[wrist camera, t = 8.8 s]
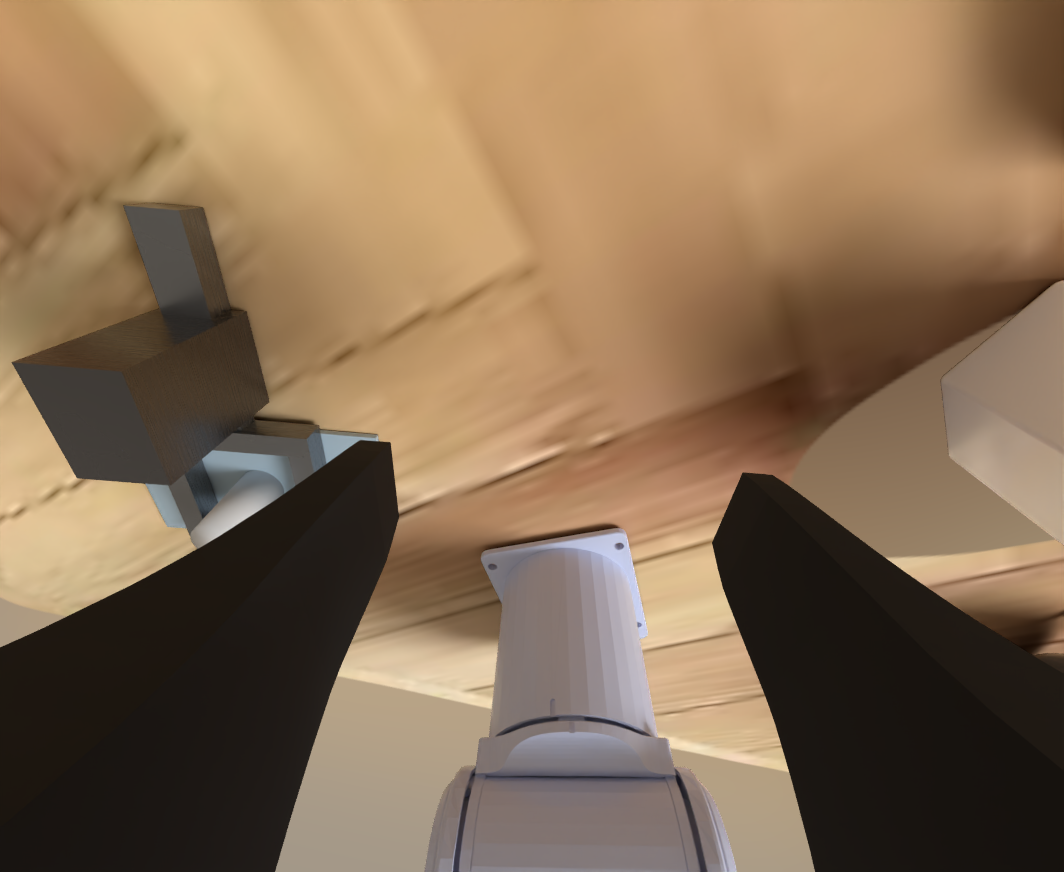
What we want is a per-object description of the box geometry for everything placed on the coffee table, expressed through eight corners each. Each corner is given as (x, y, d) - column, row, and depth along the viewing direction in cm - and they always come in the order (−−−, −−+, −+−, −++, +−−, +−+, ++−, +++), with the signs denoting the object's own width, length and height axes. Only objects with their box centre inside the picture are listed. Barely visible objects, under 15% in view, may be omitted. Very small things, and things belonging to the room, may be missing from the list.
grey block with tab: (75, 195, 15) (-158, 210, 10) (277, 214, 16) (145, 237, 10) (209, 527, 24) (115, 628, 18) (341, 538, 24) (284, 640, 19)
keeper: (115, 412, 20) (28, 466, 17) (377, 434, 21) (343, 492, 17) (171, 522, 24) (109, 584, 21) (391, 540, 24) (365, 605, 21)
